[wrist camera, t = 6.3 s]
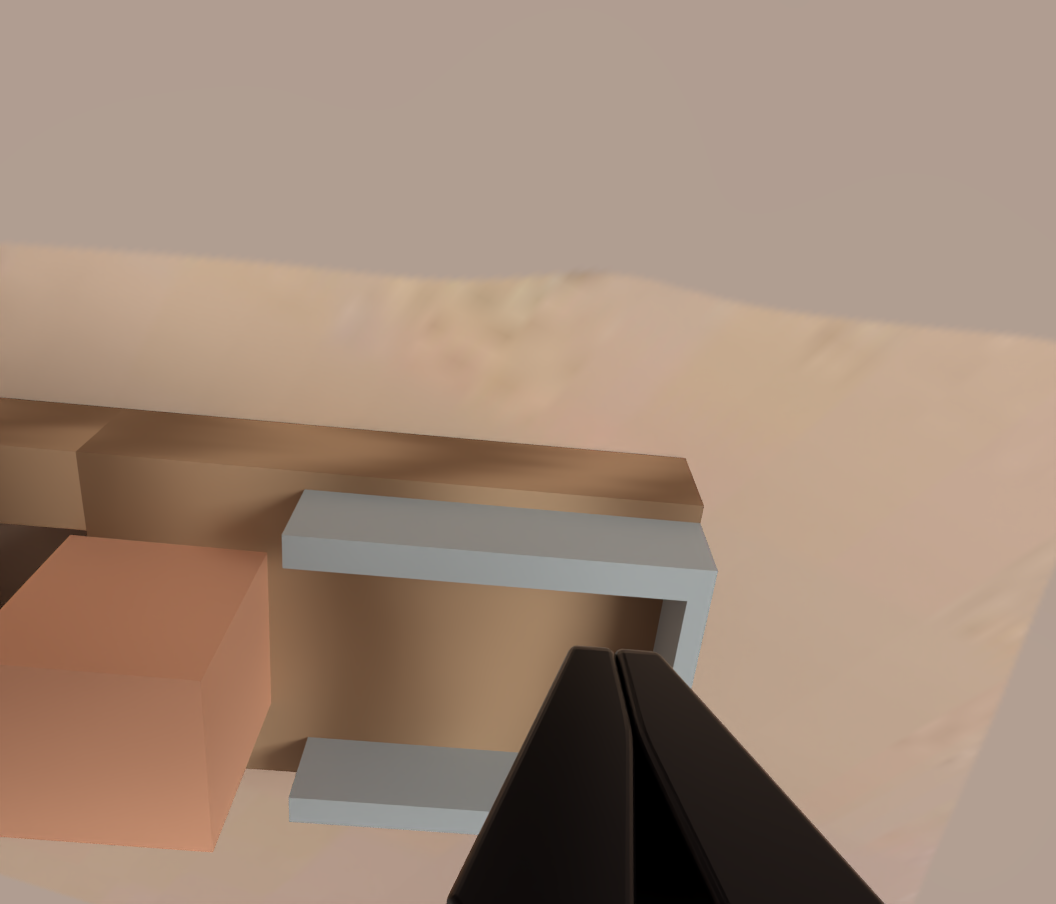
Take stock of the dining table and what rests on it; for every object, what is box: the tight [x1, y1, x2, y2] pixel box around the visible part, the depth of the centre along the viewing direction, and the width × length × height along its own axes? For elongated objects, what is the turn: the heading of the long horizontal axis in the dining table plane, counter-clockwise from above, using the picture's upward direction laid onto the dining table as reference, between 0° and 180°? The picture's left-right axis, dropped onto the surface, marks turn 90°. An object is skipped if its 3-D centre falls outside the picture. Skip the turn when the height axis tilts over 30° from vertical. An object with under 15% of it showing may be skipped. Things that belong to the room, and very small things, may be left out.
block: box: [0, 535, 271, 852], centre depth 19 cm, size 4×4×4 cm
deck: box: [0, 398, 704, 772], centre depth 22 cm, size 20×9×2 cm, turn 84°
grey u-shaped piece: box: [282, 489, 718, 835], centre depth 20 cm, size 9×8×2 cm
